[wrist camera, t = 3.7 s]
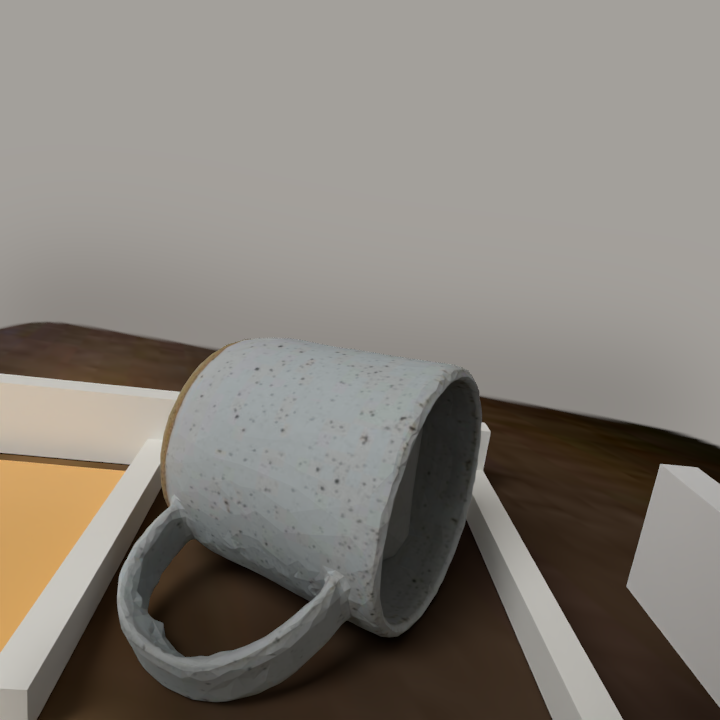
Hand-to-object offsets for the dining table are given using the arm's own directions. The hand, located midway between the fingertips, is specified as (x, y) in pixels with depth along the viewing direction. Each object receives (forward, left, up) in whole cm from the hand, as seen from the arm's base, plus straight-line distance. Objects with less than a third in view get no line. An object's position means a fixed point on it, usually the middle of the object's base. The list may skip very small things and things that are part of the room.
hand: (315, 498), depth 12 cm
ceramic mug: (0, -6, -7) cm, 9 cm away
